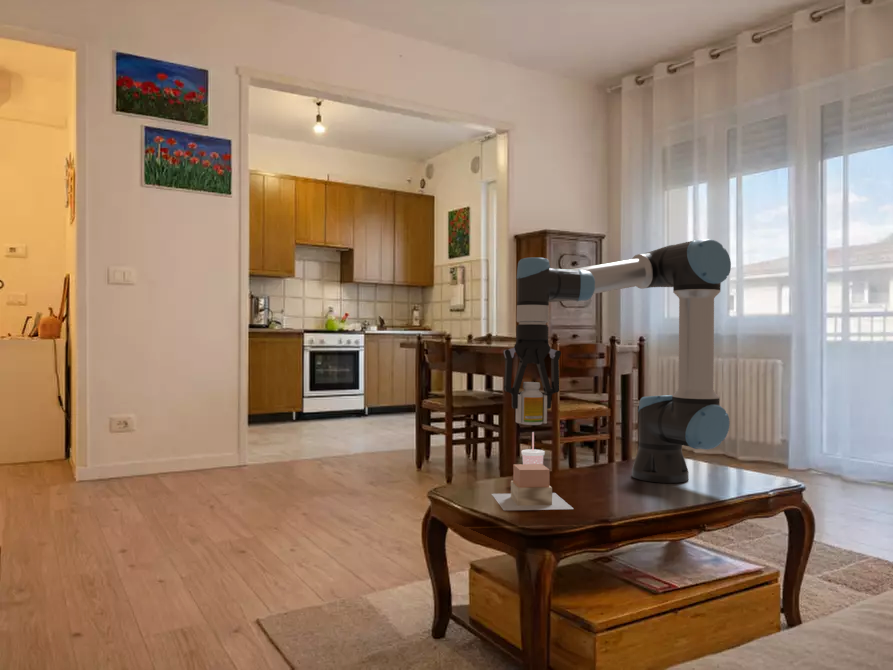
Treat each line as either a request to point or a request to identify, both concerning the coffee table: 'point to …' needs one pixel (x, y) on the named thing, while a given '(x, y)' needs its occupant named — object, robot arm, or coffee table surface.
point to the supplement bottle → (531, 404)
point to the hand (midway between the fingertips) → (531, 422)
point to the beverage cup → (532, 454)
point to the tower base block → (531, 495)
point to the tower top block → (531, 475)
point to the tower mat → (509, 504)
